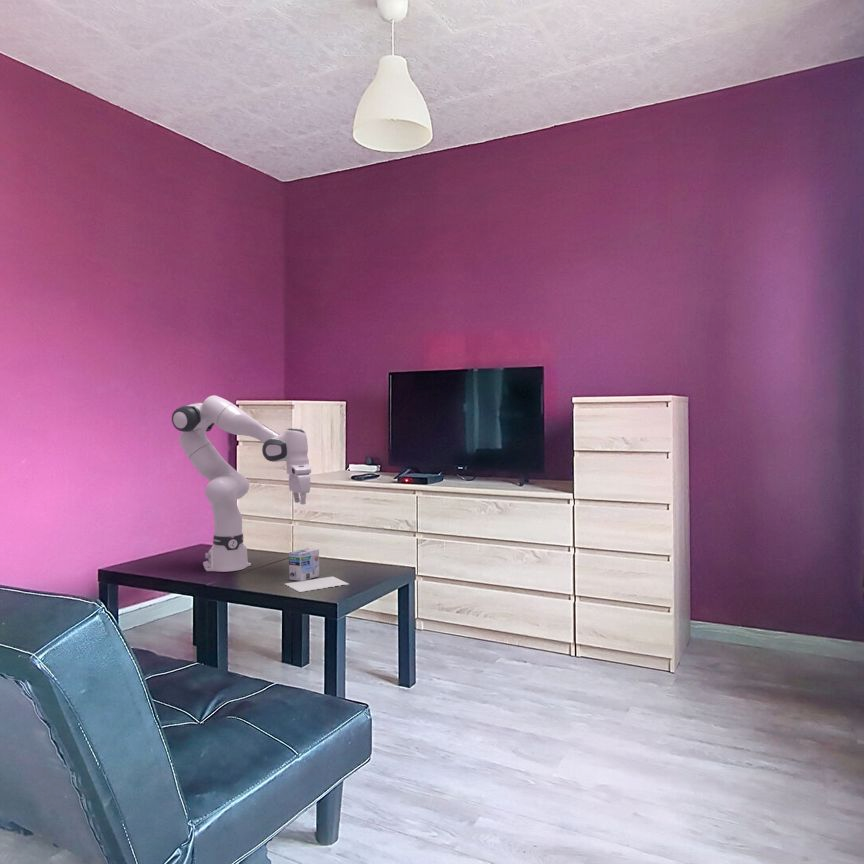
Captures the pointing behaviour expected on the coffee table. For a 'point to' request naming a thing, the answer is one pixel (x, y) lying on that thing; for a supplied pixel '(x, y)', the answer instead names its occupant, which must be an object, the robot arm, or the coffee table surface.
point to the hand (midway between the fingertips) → (300, 503)
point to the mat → (316, 584)
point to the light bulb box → (303, 564)
